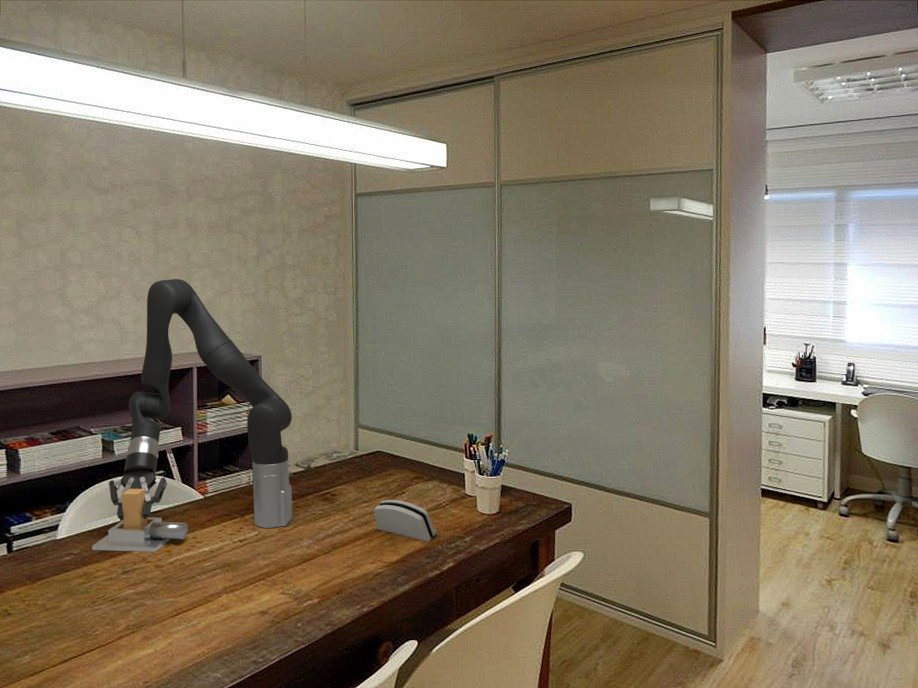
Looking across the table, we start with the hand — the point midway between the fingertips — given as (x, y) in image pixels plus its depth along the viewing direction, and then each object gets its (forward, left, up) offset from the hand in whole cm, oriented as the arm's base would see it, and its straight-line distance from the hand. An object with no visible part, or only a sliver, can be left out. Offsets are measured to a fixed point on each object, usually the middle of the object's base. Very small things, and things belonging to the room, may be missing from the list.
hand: (133, 518), depth 177 cm
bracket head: (-2, -2, -7) cm, 7 cm away
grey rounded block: (-66, -11, -7) cm, 67 cm away
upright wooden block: (0, -2, -5) cm, 5 cm away
